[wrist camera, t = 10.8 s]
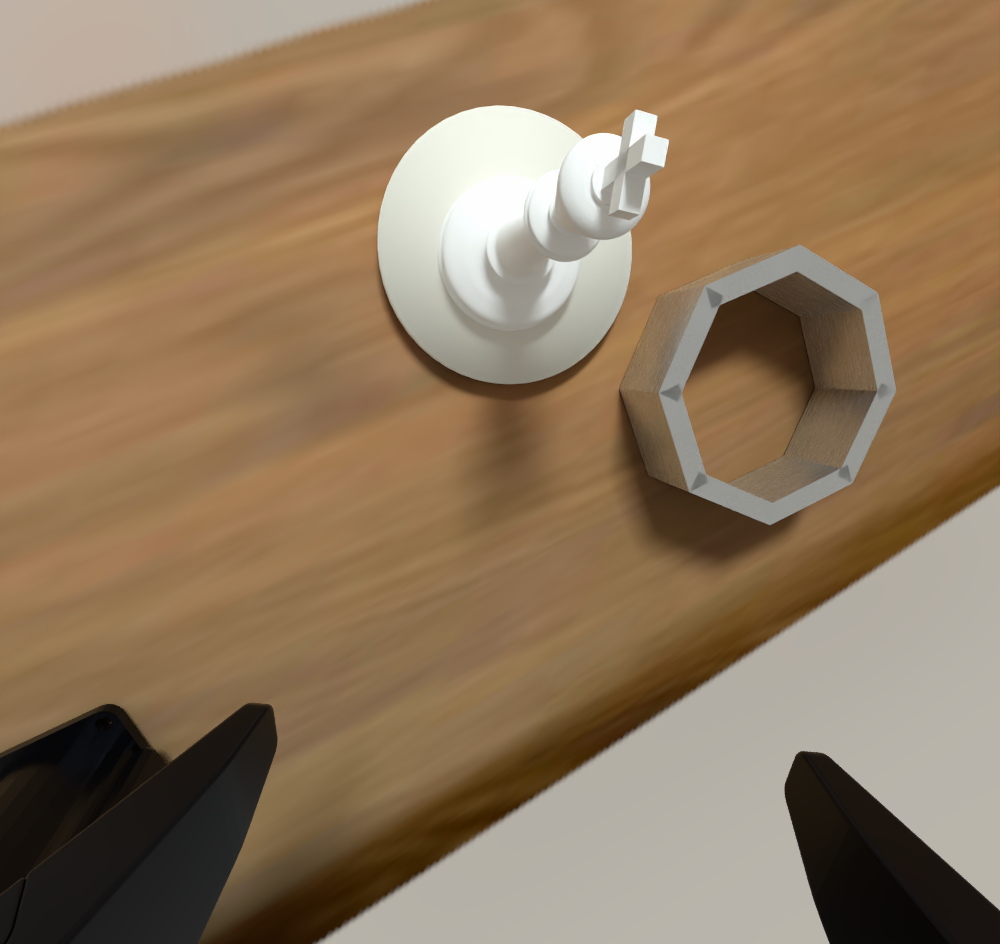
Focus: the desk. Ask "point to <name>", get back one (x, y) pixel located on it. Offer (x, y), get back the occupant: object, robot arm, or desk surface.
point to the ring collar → (834, 364)
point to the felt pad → (415, 233)
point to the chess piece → (545, 226)
